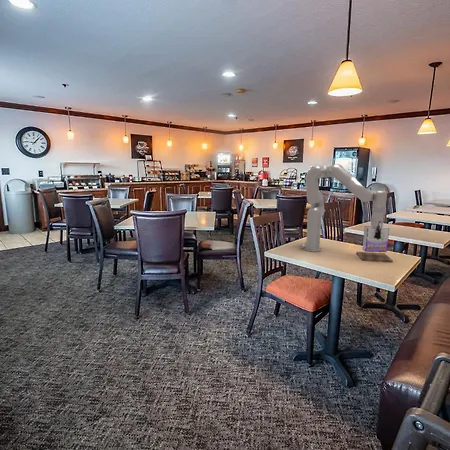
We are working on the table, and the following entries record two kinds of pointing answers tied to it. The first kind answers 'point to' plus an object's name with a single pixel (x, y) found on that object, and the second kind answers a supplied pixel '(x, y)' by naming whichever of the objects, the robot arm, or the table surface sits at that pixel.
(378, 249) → the candy box
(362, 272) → the table surface
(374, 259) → the serving board
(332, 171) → the robot arm
